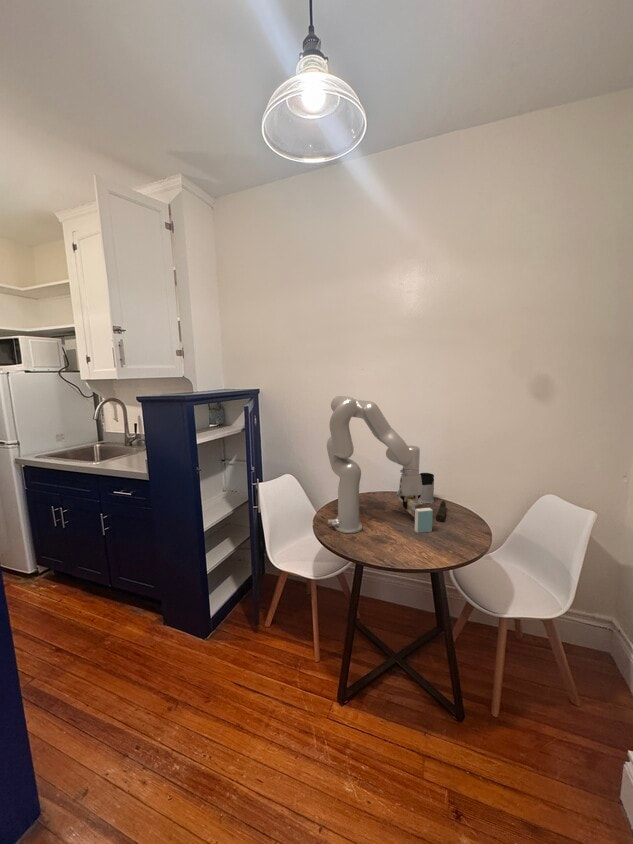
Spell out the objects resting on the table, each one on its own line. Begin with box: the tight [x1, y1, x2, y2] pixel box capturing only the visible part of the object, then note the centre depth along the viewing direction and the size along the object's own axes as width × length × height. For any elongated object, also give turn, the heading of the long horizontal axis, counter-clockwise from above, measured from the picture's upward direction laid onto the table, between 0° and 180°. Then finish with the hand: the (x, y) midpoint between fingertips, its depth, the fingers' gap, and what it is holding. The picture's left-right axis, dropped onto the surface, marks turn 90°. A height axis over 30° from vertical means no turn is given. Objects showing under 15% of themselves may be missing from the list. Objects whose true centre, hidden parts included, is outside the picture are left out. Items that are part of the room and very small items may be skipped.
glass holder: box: [418, 472, 435, 504], centre depth 178 cm, size 9×14×15 cm, turn 86°
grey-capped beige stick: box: [397, 493, 424, 518], centre depth 156 cm, size 4×18×6 cm, turn 9°
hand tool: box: [435, 500, 447, 523], centre depth 160 cm, size 19×4×5 cm, turn 151°
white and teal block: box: [414, 507, 434, 534], centre depth 143 cm, size 7×3×10 cm, turn 99°
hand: (409, 507), depth 156 cm, fingers closed on grey-capped beige stick, 4 cm apart
